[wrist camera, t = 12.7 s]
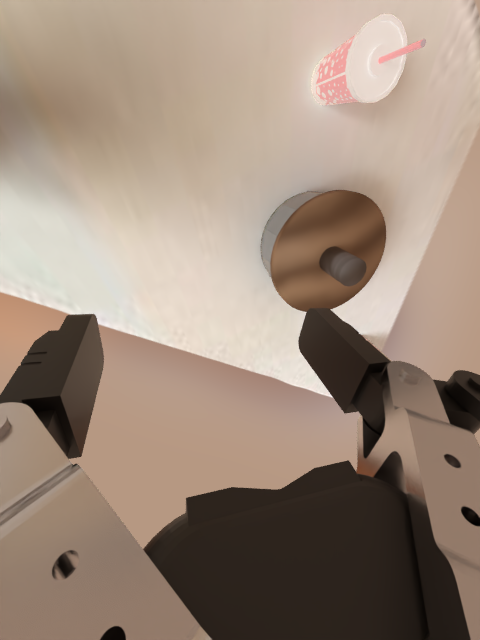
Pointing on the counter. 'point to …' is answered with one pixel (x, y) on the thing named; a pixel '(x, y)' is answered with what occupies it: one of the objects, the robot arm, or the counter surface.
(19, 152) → the counter surface
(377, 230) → the walnut lid
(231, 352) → the counter surface
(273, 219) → the grey hollow cylinder
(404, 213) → the counter surface
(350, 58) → the beverage cup
